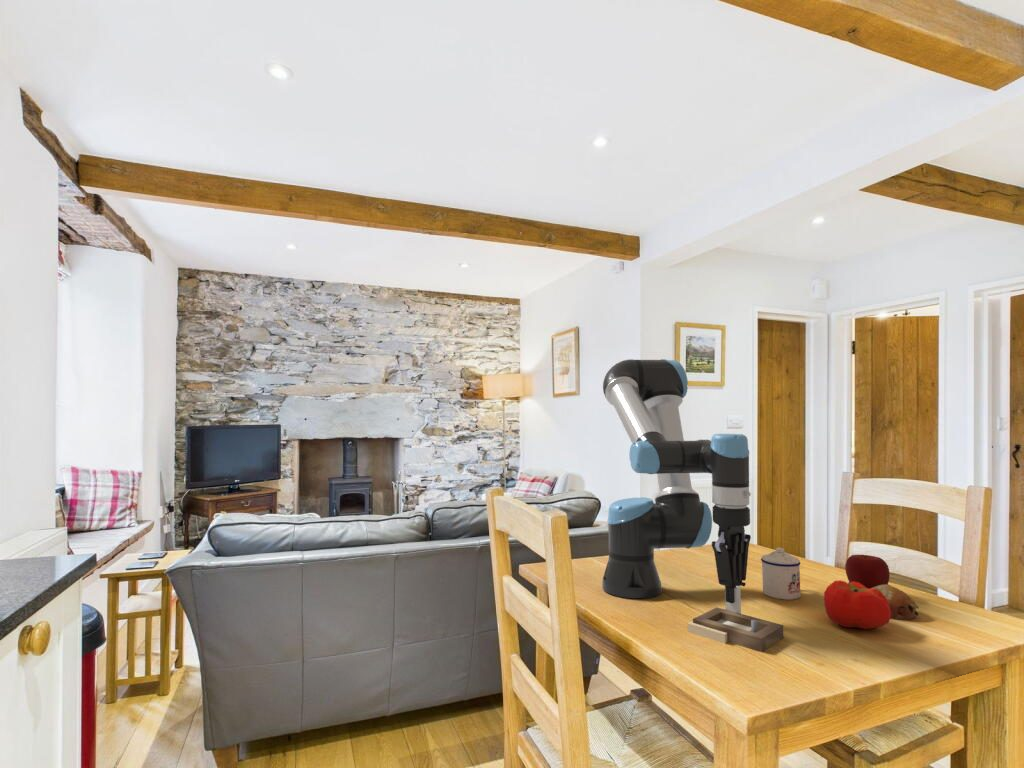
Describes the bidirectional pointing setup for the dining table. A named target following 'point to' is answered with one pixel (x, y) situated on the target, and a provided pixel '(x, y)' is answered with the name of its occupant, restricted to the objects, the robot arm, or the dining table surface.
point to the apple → (867, 570)
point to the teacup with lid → (781, 575)
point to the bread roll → (898, 602)
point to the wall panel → (715, 631)
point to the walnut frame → (742, 628)
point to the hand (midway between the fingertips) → (733, 616)
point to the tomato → (856, 605)
